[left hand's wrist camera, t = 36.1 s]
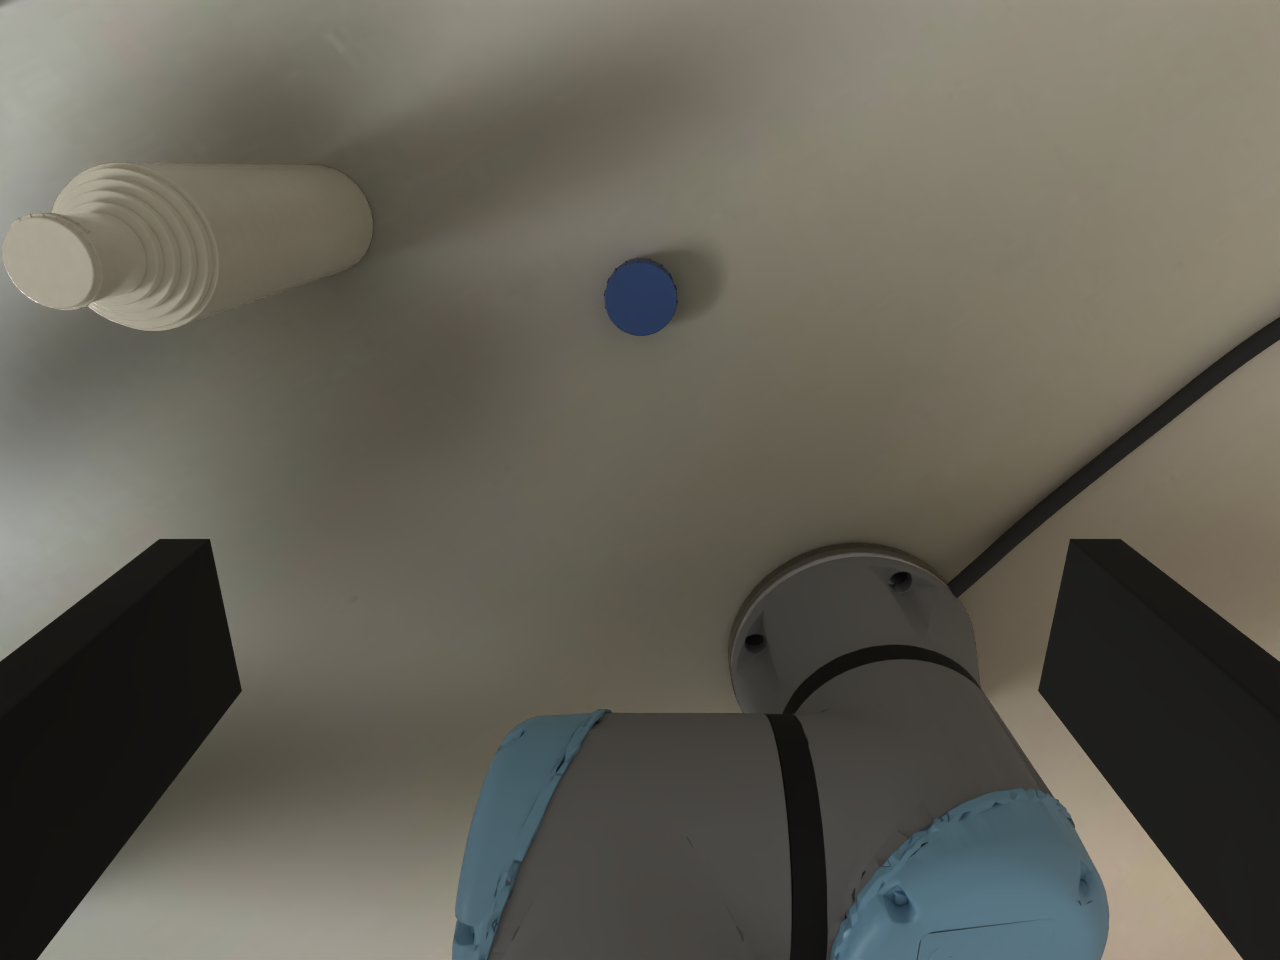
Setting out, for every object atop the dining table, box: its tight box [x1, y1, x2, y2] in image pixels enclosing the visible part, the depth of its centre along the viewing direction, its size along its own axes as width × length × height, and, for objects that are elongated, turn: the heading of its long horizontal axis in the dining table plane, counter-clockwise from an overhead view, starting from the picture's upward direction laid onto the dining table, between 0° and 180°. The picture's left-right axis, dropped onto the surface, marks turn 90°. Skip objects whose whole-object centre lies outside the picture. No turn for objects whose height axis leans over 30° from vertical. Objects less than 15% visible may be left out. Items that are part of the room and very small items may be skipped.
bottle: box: [3, 162, 373, 331], centre depth 33 cm, size 6×6×21 cm
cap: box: [604, 258, 677, 336], centre depth 43 cm, size 4×4×2 cm
